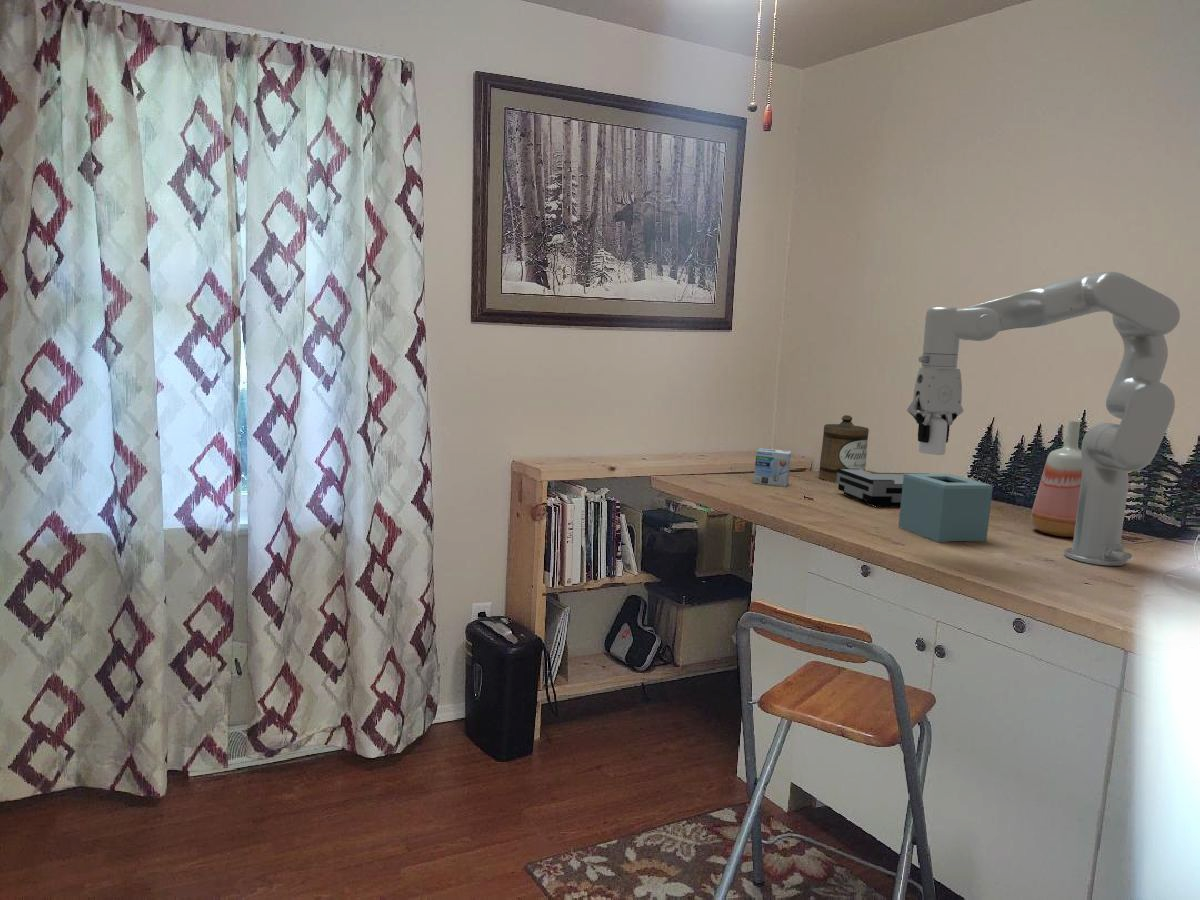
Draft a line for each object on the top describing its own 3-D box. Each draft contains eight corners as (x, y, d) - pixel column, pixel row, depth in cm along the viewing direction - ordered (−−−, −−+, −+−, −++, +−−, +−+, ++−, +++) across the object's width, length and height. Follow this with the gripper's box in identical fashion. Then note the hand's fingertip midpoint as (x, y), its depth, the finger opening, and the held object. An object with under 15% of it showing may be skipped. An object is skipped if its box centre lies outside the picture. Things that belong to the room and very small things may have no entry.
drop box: (986, 541, 220) (992, 485, 218) (938, 542, 216) (944, 485, 214) (944, 526, 235) (949, 473, 233) (898, 527, 231) (903, 473, 229)
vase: (1057, 526, 243) (1071, 418, 239) (1103, 539, 230) (1119, 425, 225) (1016, 528, 238) (1030, 417, 233) (1062, 541, 224) (1077, 424, 220)
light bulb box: (752, 483, 285) (755, 450, 284) (755, 480, 292) (758, 447, 290) (786, 487, 282) (789, 453, 281) (788, 483, 289) (791, 450, 287)
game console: (968, 509, 263) (971, 481, 262) (870, 508, 255) (873, 480, 254) (926, 495, 283) (929, 469, 282) (835, 494, 275) (837, 468, 274)
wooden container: (848, 485, 292) (854, 418, 289) (810, 477, 303) (815, 413, 300) (872, 481, 302) (878, 417, 299) (834, 474, 313) (840, 412, 310)
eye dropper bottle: (931, 451, 209) (935, 400, 207) (947, 455, 203) (952, 402, 202) (915, 451, 207) (920, 400, 206) (931, 455, 202) (936, 402, 200)
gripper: (918, 362, 196) (911, 444, 199) (982, 363, 201) (974, 444, 204) (897, 360, 203) (891, 440, 206) (959, 361, 208) (953, 439, 211)
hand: (932, 441), depth 205 cm, fingers closed on eye dropper bottle, 4 cm apart
